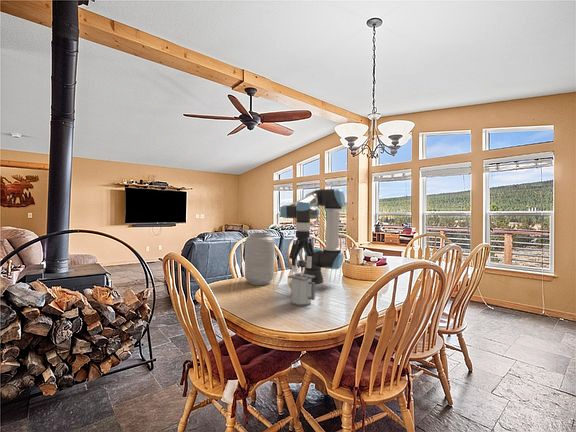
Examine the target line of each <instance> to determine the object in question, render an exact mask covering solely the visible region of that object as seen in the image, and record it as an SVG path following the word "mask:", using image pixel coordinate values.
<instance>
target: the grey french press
mask: <svg viewBox="0 0 576 432" xmlns="http://www.w3.org/2000/svg"><path fill="white" fill-rule="evenodd" d="M287 278H289V279H291V280H292V287H291V296H290V297H291V301H290V303H291V305H293V306H296V307H308V306H311V303H312V301H315V299H316V298H315V297H316V284H315V282H311V279H312V278H315V276H313V275H308V274H303V277H302V276H301V272H298V273H297V272H296V273H295V274H290V275H288V276H287Z"/></svg>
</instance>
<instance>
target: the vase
mask: <svg viewBox="0 0 576 432" xmlns="http://www.w3.org/2000/svg"><path fill="white" fill-rule="evenodd" d="M275 242H276V241H275V238H274V237H272V236H271V233H268V232H251V233H249V236H247V237H246V238H245V242H244V277H245V280H246V281H247V282H248V284H249V285H253V286H263V285H269V284H270V282H272V281H273V279H274V277H275V260H276V259H275V257H276V256H275V254H276V253H275V252H276V251H275V250H276V246H275V245H276V243H275Z"/></svg>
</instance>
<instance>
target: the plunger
mask: <svg viewBox="0 0 576 432" xmlns="http://www.w3.org/2000/svg"><path fill="white" fill-rule="evenodd" d="M298 267H299V268H300V273H301V276H302V277H303V273H304V271H303V270H304V269H303V268H305V267H306V261H305V259H299V260H298V259H297V268H298Z"/></svg>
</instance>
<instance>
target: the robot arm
mask: <svg viewBox="0 0 576 432" xmlns="http://www.w3.org/2000/svg"><path fill="white" fill-rule="evenodd" d="M345 205H346V197H345V193H344V191H343V190H342V189H341V188H340V189H339V188H327V189H325V188H320V189H316V190H313V191H311V192H308V193H307V194H305V196H304V197H302V198H301V199H298V200H297V201H295V202H293V203H291V204H286V205H281V207H280V210H279V212H280V217H282V218H283V219H295V238H296V239H292V240H293V241H292V246H291V250H290V252H289V256H288V258H289V259H290V260H291V272H294V273H297V272H298V256H299V254H300V251H301V250H302V249H304V251H305V252H304V260H305V261H306V267H304V269H303V270H304V271H303V274H308V275H313V276H315V278H312V279H311V282H315V285H317V284H322V283H323V284H324V276H323V273H322V269H324V268H325V269H331V270H340V268H341V267H342V265H343V262H344V252H342V250H341V248H340V244H339V243H340V242H339V240H340V239H339V238H340V212H341V211H342V209H343V207H344V206H345ZM319 207H324V210H325V212H326V224H325V226H326V227H325V229H326V230H325V231H326V233H325V247H323V249H322V248H321V247H316V248H315V247H313V244H312V238H310V236H311V233H310V232H311V231H310V230H311V220H314V219H317V218H318V217H319V215H320V209H319Z"/></svg>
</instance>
